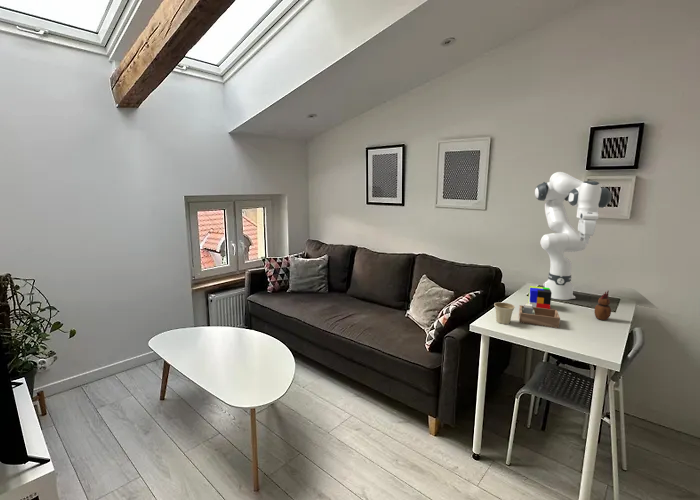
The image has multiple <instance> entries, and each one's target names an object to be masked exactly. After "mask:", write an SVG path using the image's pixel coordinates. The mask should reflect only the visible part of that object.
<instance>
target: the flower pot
mask: <svg viewBox="0 0 700 500" xmlns="http://www.w3.org/2000/svg"><path fill="white" fill-rule="evenodd" d="M493 305H494V309H495V318H496V323H499V324H502V325H509V324H510V323H511V320H512V315H513V311H514V309H515V308H516V307H515V305H514V304H511V303H507V302H501V301H500V302H499V301H498V302H494V304H493Z"/></svg>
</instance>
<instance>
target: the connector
mask: <svg viewBox="0 0 700 500" xmlns="http://www.w3.org/2000/svg"><path fill="white" fill-rule="evenodd" d="M523 306H524V312H523V313H526V314H532V313H533V306H532V304H528V303H525V304H524V305H523Z"/></svg>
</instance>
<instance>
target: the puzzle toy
mask: <svg viewBox="0 0 700 500" xmlns="http://www.w3.org/2000/svg"><path fill="white" fill-rule="evenodd" d="M551 294H552V292H551V290H550V288H545V287H544V286H543V287H542V286H532V285H529V290H528V300H527V301H528V302H527V304H532V306H533V307H537V308H546V309H551V304H552V303H551V302H552V298H551Z"/></svg>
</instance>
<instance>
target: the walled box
mask: <svg viewBox="0 0 700 500" xmlns="http://www.w3.org/2000/svg"><path fill="white" fill-rule="evenodd" d="M523 312H524V305H522V304H521V305H519V310H518V321H519V324H525V325H532V326H539V327H546V328H553V329H560V322H561V316H560V314H559V312H558V309H553V308H550V309H546V308H537V307H533V313H532V314H526V313H523Z"/></svg>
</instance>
